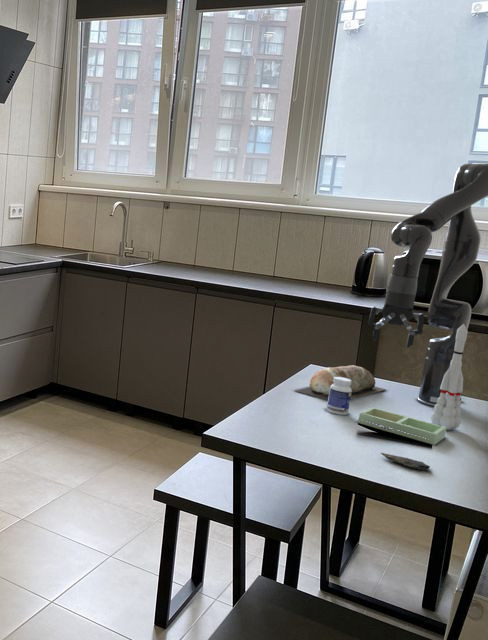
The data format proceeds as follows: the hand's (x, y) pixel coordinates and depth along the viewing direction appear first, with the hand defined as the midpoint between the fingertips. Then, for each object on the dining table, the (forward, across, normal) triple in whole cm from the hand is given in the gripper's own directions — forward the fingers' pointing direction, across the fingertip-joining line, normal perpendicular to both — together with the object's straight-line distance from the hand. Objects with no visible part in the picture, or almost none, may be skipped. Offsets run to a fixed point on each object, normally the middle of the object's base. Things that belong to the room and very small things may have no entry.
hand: (391, 344), depth 222 cm
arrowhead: (+20, -3, +52) cm, 56 cm away
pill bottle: (+20, +12, +16) cm, 28 cm away
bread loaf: (+20, +11, -11) cm, 25 cm away
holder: (+20, -4, +22) cm, 30 cm away
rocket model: (+20, -16, +10) cm, 27 cm away
